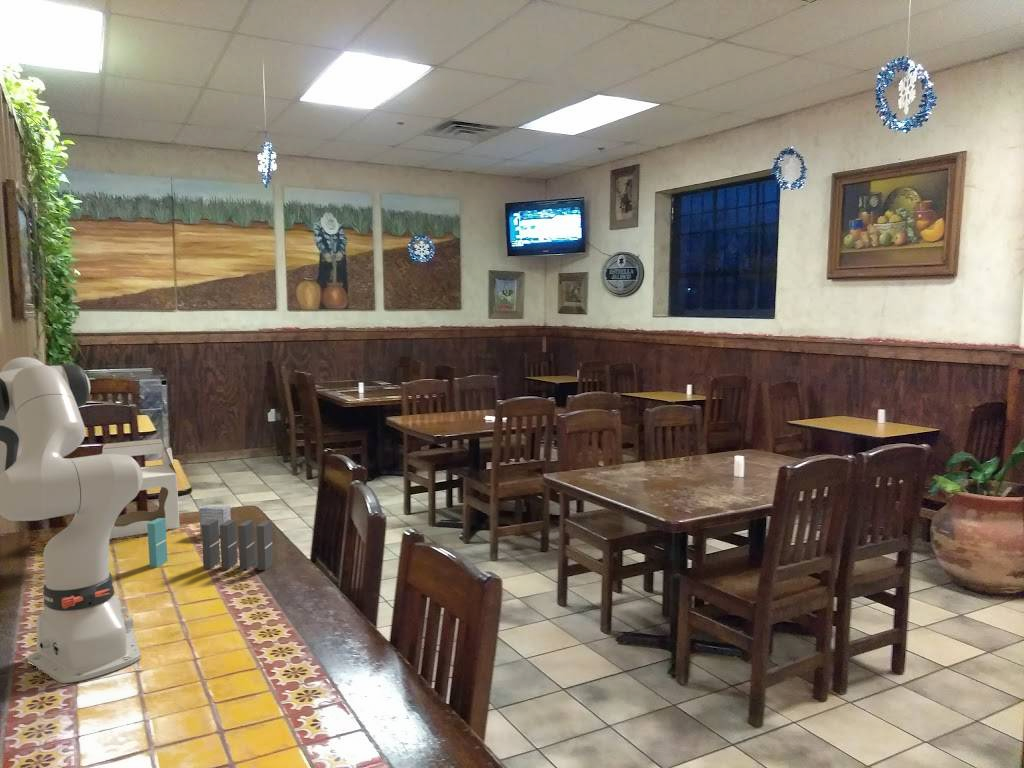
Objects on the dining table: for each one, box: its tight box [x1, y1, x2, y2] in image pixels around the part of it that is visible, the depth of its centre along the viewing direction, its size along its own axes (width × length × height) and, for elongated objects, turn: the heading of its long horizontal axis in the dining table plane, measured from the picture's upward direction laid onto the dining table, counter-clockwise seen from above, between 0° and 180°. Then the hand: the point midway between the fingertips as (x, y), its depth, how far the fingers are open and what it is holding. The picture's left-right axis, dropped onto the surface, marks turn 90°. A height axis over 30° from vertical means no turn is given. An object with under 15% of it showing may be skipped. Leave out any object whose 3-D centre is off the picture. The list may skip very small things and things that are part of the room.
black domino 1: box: [201, 519, 221, 570], centre depth 191 cm, size 2×5×12 cm, turn 175°
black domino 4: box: [255, 520, 274, 571], centre depth 190 cm, size 2×5×12 cm, turn 175°
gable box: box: [100, 438, 180, 540], centre depth 223 cm, size 22×13×28 cm, turn 124°
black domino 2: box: [219, 519, 239, 570], centre depth 191 cm, size 2×5×12 cm, turn 175°
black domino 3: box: [237, 519, 257, 570], centre depth 191 cm, size 2×5×12 cm, turn 175°
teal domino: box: [147, 518, 168, 568], centre depth 193 cm, size 2×5×12 cm, turn 175°
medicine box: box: [198, 504, 232, 537], centre depth 219 cm, size 8×4×9 cm, turn 84°
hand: (116, 483), depth 193 cm, fingers open, 8 cm apart
